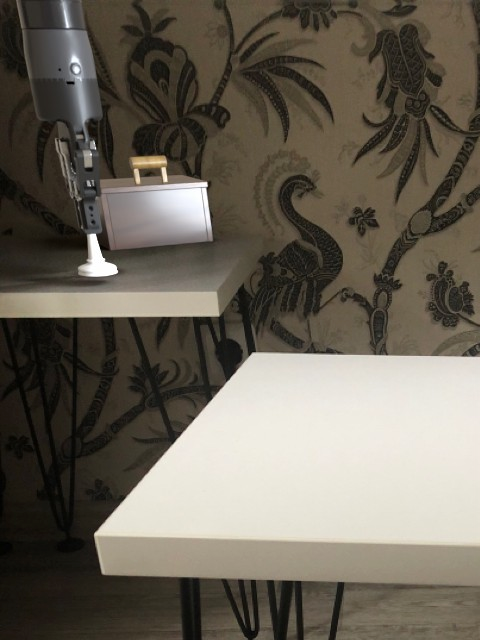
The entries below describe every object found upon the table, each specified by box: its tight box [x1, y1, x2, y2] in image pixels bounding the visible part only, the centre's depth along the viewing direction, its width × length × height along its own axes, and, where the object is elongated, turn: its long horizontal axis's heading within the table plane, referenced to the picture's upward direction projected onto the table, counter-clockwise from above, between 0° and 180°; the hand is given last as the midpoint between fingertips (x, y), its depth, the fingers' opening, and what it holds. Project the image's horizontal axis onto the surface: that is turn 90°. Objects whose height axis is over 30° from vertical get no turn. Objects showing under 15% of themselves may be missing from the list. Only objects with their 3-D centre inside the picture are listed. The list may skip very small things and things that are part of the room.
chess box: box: [96, 187, 214, 251], centre depth 140 cm, size 12×16×9 cm
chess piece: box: [77, 206, 119, 278], centre depth 116 cm, size 5×5×10 cm
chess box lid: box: [100, 155, 209, 194], centre depth 137 cm, size 12×16×4 cm
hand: (90, 231), depth 116 cm, fingers closed on chess piece
